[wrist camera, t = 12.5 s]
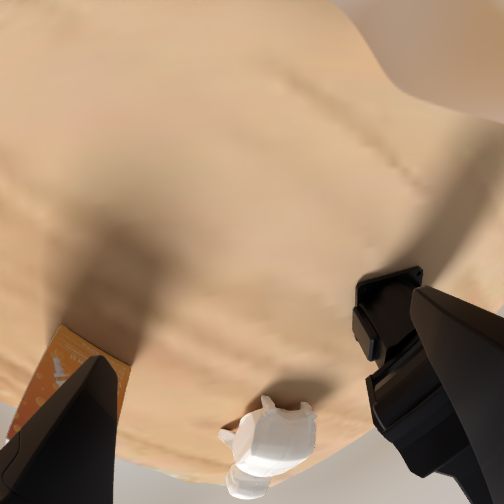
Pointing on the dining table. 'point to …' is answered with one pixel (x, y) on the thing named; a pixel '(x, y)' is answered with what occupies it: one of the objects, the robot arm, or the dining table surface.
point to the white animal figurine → (267, 446)
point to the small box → (62, 374)
